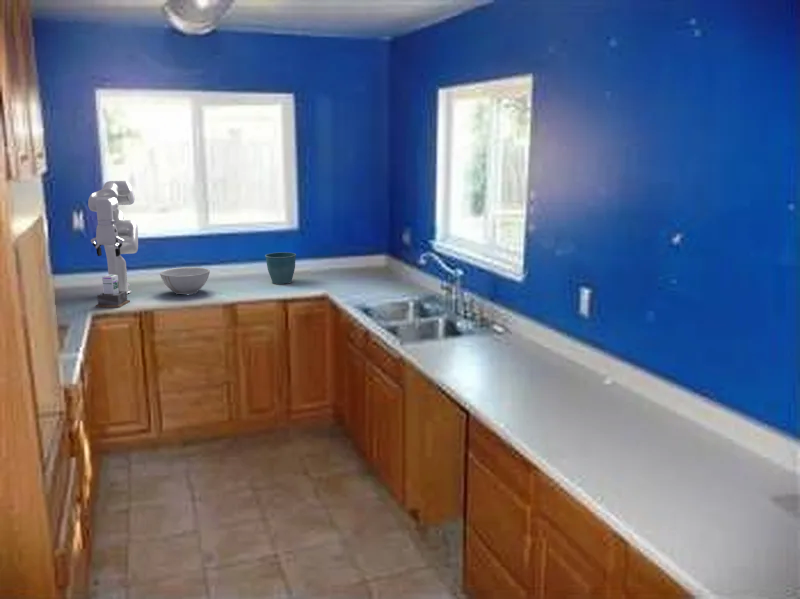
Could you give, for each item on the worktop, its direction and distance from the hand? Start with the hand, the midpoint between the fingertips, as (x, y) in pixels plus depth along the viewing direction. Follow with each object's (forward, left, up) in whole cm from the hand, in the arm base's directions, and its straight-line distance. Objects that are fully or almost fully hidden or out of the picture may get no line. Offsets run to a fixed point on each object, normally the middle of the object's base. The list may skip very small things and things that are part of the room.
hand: (108, 255), depth 372 cm
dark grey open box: (0, 0, -26) cm, 26 cm away
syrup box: (0, 0, -25) cm, 25 cm away
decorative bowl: (-31, +28, -26) cm, 49 cm away
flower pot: (-63, +75, -26) cm, 101 cm away
